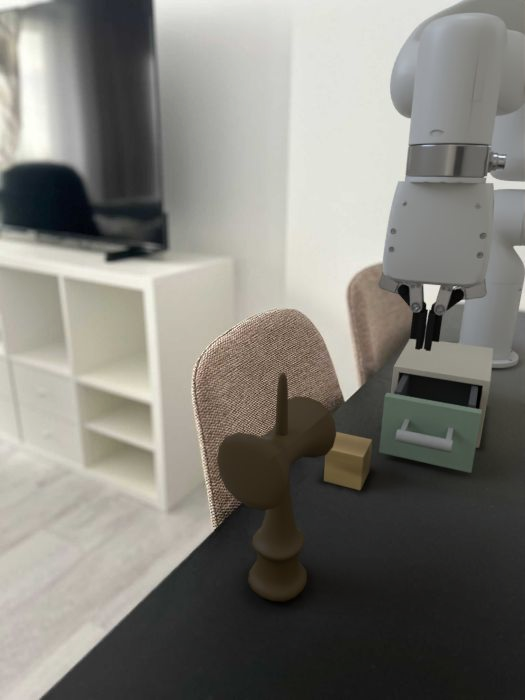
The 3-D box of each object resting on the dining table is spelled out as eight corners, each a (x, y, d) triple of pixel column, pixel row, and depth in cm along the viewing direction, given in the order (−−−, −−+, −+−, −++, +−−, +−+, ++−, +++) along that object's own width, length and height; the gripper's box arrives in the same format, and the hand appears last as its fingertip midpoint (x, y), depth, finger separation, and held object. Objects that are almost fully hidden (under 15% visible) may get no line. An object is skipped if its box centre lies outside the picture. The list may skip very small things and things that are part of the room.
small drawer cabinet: (479, 448, 68) (490, 381, 64) (387, 429, 72) (393, 365, 69) (483, 406, 80) (493, 348, 77) (404, 392, 84) (410, 337, 81)
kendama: (216, 604, 43) (211, 384, 36) (277, 539, 50) (282, 348, 44) (277, 639, 40) (283, 405, 33) (332, 564, 47) (346, 362, 41)
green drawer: (468, 494, 56) (479, 431, 54) (370, 471, 61) (376, 411, 58) (477, 426, 72) (485, 374, 69) (398, 411, 76) (403, 361, 73)
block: (334, 463, 64) (336, 431, 62) (369, 471, 62) (372, 439, 61) (323, 481, 60) (325, 448, 59) (360, 490, 58) (363, 457, 57)
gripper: (527, 168, 50) (496, 345, 56) (374, 166, 55) (361, 329, 61) (536, 167, 44) (500, 368, 50) (361, 165, 49) (348, 348, 55)
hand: (423, 346), depth 55 cm, fingers closed
